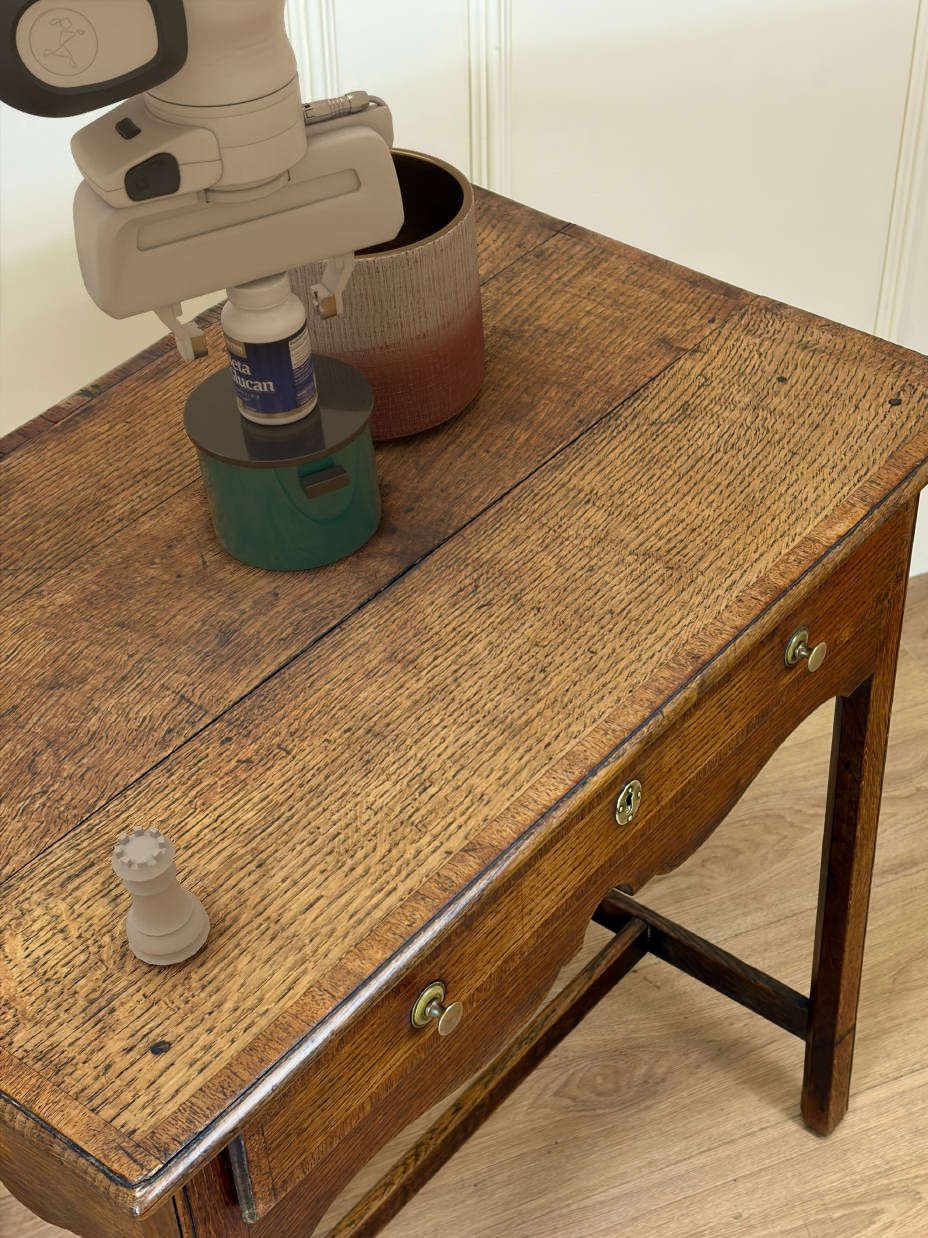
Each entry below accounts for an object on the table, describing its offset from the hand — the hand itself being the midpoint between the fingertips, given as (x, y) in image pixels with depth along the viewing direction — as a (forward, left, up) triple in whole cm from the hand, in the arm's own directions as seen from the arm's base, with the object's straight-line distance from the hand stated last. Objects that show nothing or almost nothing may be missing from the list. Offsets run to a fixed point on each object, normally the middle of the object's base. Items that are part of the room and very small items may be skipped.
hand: (262, 333), depth 96 cm
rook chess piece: (-21, -30, -15) cm, 40 cm away
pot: (0, 0, -15) cm, 15 cm away
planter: (+12, +12, -15) cm, 23 cm away
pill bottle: (0, 0, -6) cm, 6 cm away
